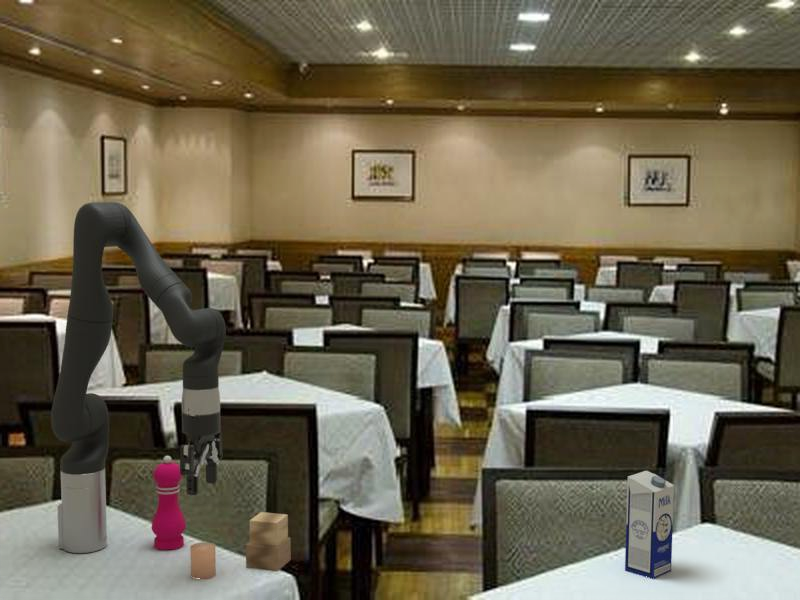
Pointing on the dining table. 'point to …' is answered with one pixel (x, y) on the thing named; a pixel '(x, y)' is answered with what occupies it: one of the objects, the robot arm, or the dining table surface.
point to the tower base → (268, 556)
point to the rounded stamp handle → (203, 560)
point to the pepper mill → (168, 507)
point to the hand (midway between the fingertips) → (202, 488)
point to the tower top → (268, 529)
